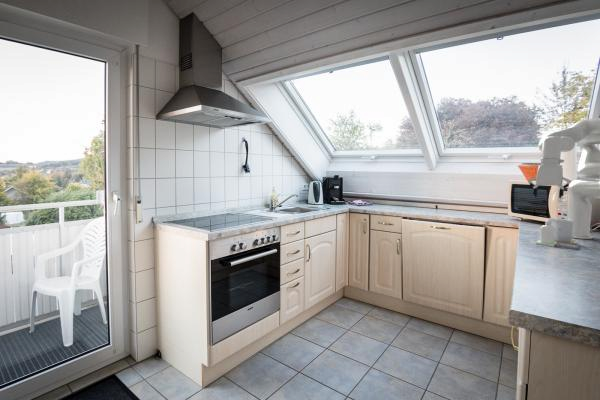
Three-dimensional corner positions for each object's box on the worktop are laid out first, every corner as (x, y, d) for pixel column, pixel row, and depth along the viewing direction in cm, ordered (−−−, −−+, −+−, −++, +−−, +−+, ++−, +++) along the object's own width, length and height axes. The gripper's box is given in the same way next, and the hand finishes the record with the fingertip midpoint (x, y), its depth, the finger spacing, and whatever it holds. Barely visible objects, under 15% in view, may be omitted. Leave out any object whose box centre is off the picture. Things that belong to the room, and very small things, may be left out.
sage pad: (539, 242, 166) (539, 240, 166) (556, 244, 161) (556, 242, 161) (536, 244, 161) (536, 242, 161) (554, 246, 156) (554, 244, 156)
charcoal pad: (558, 244, 160) (559, 242, 160) (577, 247, 155) (577, 245, 155) (556, 246, 155) (557, 244, 155) (575, 249, 150) (576, 247, 150)
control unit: (546, 239, 172) (547, 217, 171) (575, 243, 164) (577, 220, 163) (543, 241, 167) (545, 219, 166) (574, 245, 159) (576, 222, 158)
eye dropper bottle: (542, 240, 164) (544, 217, 163) (555, 242, 159) (557, 218, 158) (538, 241, 162) (540, 217, 161) (550, 243, 157) (553, 219, 156)
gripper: (574, 162, 156) (571, 197, 158) (530, 162, 168) (528, 195, 170) (572, 162, 151) (569, 198, 152) (527, 162, 162) (525, 196, 164)
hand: (547, 197), depth 161 cm, fingers open, 9 cm apart
